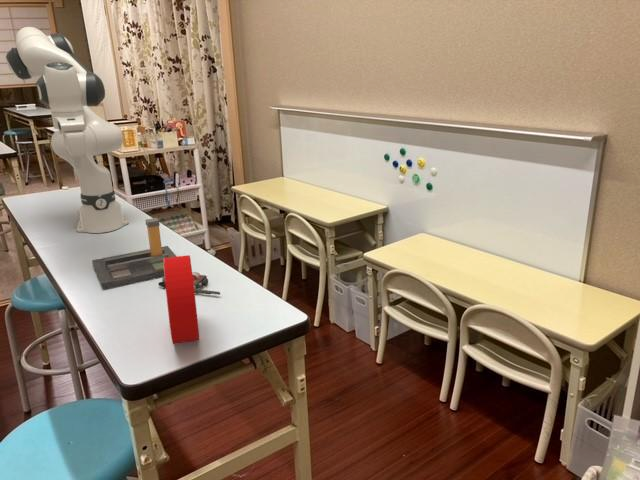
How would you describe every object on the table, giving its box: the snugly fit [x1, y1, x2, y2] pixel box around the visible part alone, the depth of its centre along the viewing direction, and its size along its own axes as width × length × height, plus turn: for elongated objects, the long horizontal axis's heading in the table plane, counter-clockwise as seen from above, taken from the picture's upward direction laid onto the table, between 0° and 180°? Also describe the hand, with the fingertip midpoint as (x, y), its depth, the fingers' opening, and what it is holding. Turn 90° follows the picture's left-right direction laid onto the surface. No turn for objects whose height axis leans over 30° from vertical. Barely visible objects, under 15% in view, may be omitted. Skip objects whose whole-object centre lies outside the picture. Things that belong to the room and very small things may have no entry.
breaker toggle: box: [144, 217, 163, 257], centre depth 159 cm, size 3×3×13 cm
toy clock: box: [164, 254, 200, 345], centre depth 118 cm, size 20×6×20 cm, turn 17°
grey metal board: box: [91, 245, 178, 291], centre depth 158 cm, size 20×24×4 cm
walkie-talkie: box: [158, 271, 221, 295], centre depth 145 cm, size 9×4×20 cm
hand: (77, 167), depth 153 cm, fingers closed
